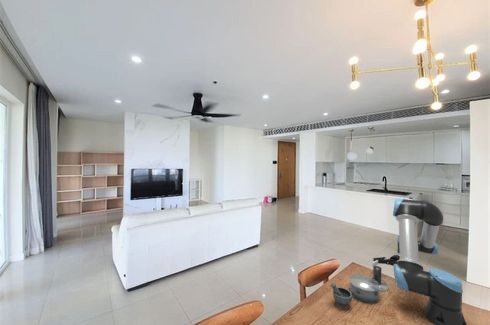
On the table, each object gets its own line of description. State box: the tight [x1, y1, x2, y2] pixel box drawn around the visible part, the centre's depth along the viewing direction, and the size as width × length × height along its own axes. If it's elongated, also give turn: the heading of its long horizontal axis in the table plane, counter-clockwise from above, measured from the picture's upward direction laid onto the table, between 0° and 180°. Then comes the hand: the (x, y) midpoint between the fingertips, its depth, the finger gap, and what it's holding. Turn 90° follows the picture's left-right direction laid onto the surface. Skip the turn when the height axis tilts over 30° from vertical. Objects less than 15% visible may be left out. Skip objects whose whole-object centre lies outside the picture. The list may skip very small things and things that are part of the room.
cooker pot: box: [348, 273, 380, 304], centre depth 124 cm, size 16×16×8 cm
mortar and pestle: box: [330, 282, 353, 310], centre depth 116 cm, size 11×9×12 cm
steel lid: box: [370, 265, 390, 292], centre depth 133 cm, size 12×12×12 cm
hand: (383, 269), depth 138 cm, fingers open, 13 cm apart
